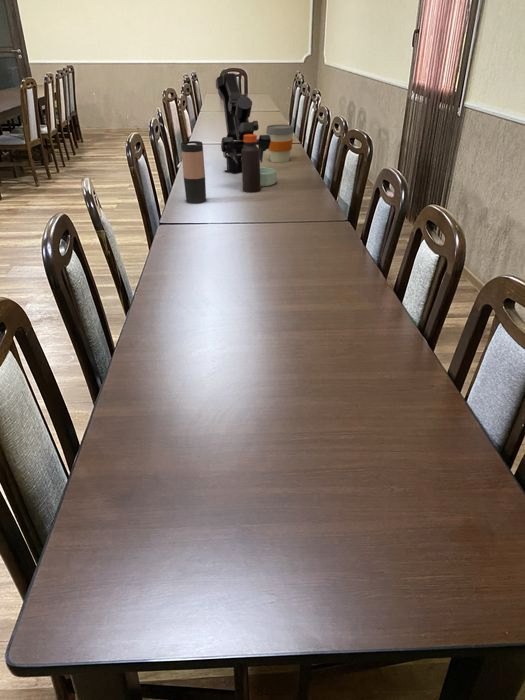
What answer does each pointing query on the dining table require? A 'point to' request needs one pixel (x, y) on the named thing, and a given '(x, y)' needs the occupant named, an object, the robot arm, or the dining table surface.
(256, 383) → the dining table surface
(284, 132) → the reusable coffee cup
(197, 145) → the travel mug
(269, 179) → the basin
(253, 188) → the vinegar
